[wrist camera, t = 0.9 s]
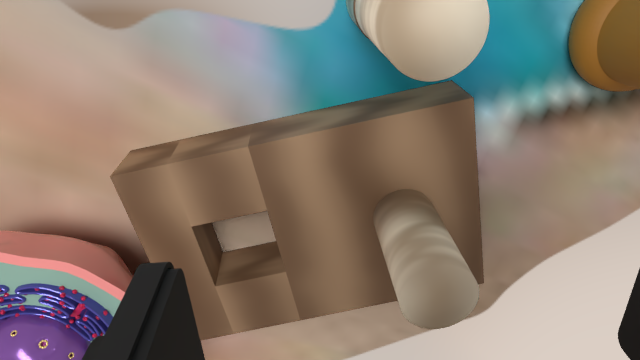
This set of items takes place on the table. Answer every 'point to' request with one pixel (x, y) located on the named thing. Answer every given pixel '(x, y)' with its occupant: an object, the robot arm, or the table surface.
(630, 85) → the ornamental finial
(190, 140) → the brown block with hole
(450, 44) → the birch leg
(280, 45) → the table surface
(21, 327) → the cell model
